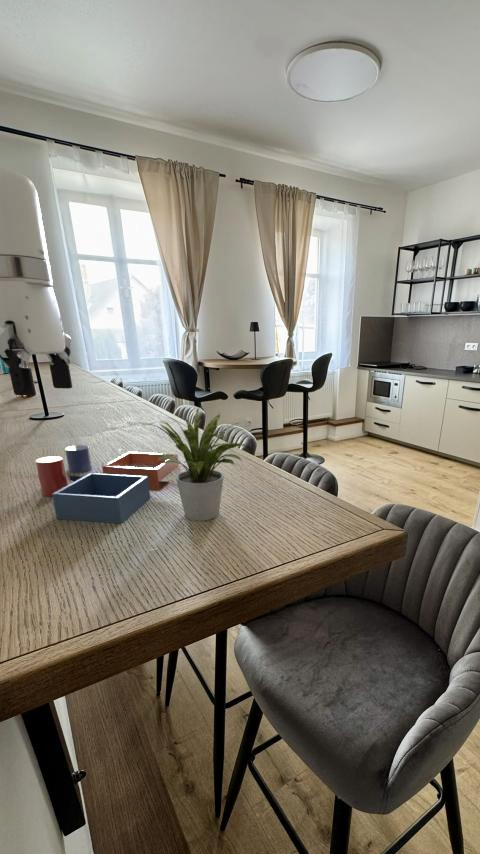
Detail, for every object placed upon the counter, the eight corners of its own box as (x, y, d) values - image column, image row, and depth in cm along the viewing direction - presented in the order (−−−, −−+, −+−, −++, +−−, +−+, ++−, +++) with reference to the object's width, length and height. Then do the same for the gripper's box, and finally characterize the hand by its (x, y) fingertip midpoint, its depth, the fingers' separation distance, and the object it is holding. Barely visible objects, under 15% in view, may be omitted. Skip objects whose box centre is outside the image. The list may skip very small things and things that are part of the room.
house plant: (161, 546, 54) (149, 422, 48) (137, 509, 65) (125, 405, 59) (258, 524, 61) (257, 413, 55) (221, 494, 72) (217, 399, 66)
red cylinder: (37, 496, 70) (30, 462, 67) (52, 488, 73) (45, 455, 71) (59, 497, 69) (52, 463, 67) (73, 489, 73) (67, 456, 71)
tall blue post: (65, 481, 77) (60, 450, 75) (78, 474, 81) (73, 444, 79) (85, 482, 77) (80, 451, 74) (97, 475, 80) (92, 445, 78)
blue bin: (56, 518, 61) (51, 493, 60) (93, 495, 71) (90, 472, 69) (121, 523, 60) (118, 498, 59) (150, 498, 70) (148, 476, 68)
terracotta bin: (105, 487, 74) (101, 466, 73) (130, 470, 84) (128, 451, 82) (159, 490, 73) (157, 469, 72) (179, 473, 83) (177, 454, 81)
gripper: (37, 281, 70) (56, 385, 76) (-49, 264, 54) (-17, 397, 60) (79, 281, 69) (94, 386, 75) (4, 264, 53) (32, 399, 59)
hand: (45, 391), depth 68 cm, fingers open, 9 cm apart
